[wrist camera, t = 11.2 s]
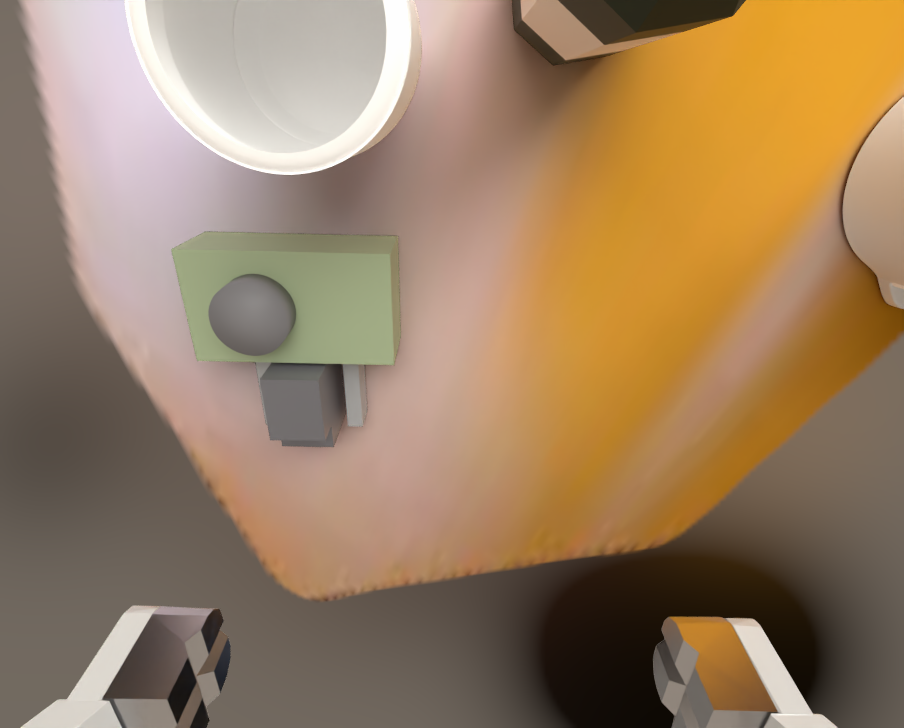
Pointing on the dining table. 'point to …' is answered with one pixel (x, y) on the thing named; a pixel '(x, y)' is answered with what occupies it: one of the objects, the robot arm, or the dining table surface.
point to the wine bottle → (609, 24)
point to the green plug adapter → (294, 302)
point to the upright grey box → (304, 403)
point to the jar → (281, 74)
